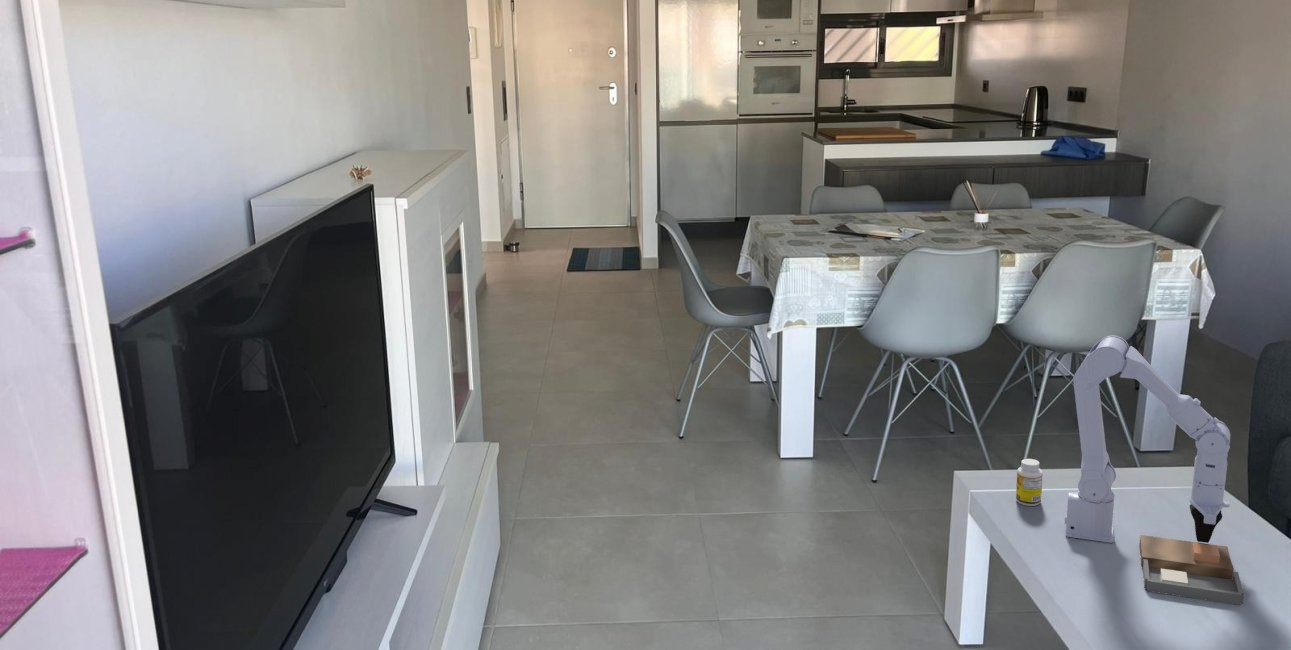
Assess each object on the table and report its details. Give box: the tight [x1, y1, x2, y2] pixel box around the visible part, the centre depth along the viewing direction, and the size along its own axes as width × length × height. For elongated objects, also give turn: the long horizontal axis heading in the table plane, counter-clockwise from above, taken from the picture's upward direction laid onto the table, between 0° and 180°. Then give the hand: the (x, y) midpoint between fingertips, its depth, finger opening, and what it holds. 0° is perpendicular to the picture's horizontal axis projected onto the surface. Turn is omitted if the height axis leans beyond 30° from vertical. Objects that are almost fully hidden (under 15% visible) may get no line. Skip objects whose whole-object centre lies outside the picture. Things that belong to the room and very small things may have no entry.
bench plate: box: [1138, 534, 1234, 580], centre depth 198 cm, size 16×10×2 cm, turn 66°
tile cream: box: [1160, 569, 1188, 585], centre depth 190 cm, size 4×4×2 cm
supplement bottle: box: [1015, 458, 1043, 507], centre depth 228 cm, size 6×6×10 cm
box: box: [1142, 559, 1244, 606], centre depth 190 cm, size 17×9×2 cm, turn 66°
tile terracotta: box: [1192, 542, 1220, 563], centre depth 196 cm, size 4×4×2 cm
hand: (1202, 540), depth 201 cm, fingers closed
